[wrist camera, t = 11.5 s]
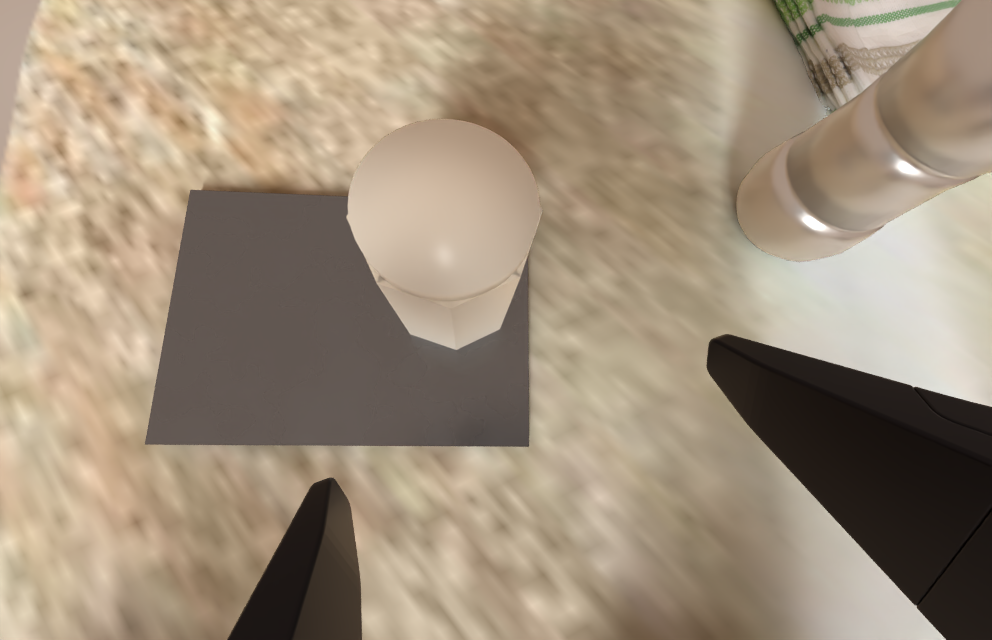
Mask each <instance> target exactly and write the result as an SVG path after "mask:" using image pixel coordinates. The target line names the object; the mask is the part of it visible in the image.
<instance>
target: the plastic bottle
mask: <svg viewBox="0 0 992 640" xmlns="http://www.w3.org/2000/svg"><path fill="white" fill-rule="evenodd" d="M990 172H992V0H961V1H960V2H959V3H958V4H957V5H956V6H955V7H954V8H953V9H952V10H951V11H950V12H949V13H948V14H947V15H946V16H945V17H944V18H943V19H942V20H941V21H940V22H939V23H938V24H937V25H936V26H935V27H934V28H933V29H932V31H931V32H930V33H929V34H928V35H927V36H925V37H924V38H923V39H922V40H921V41H920V42H919V43H917V44H916V45H915V46H914V47H913V48H912V49H911V50H909V51H908V52H907V53H906V54H905V55H904V56H903V57H901V58H900V59H899V60H898V61H897V62H896V63H895V64H893V65H892V66H891V67H890V68H889V69H888V71H887V72H885V73H884V74H882V75H881V76H880V77H879V78H877V79H876V80H875V81H874V82H873V83H872V84H871V85H870V86H868V87H867V88H866V89H865V90H864V91H863V92H861V93H860V94H858V95H857V96H856V97H854V98H853V99H851V100H850V101H848V102H847V103H845V104H844V105H843V106H841V107H840V108H838V109H837V110H835V111H834V112H833V113H831V114H830V115H828V116H827V117H825V118H824V119H822V120H821V121H820V122H818V123H817V124H815V125H814V126H812V127H811V128H809V129H808V130H807V131H805V132H802V133H800V134H798V135H796V136H794V137H793V138H791V139H789V140H787V141H785V142H783V143H782V144H780V145H779V146H777V147H776V148H774V149H772V150H771V151H769V152H768V153H766V154H765V155H764V156H763V157H761V158H760V159H759V160H758V161H757V163H756V164H755V165H754V166H753V168H752V169H751V170H750V171H749V173H748V174H747V175H746V177H745V178H744V179H743V181H742V182H741V184H740V187H739V189H738V194H737V206H736V207H737V217H738V221H739V224H740V226H741V228H742V230H743V232H744V233H745V235H746V236H747V237H748V239H749V240H750V241H751V242H752V243H753V244H754V245H755V246H757V247H758V248H759V249H761V250H762V251H764V252H766V253H768V254H770V255H772V256H776V257H779V258H782V259H785V260H789V261H796V262H805V261H812V260H817V259H821V258H825V257H830V256H833V255H837V254H841V253H843V252H844V251H846V250H848V249H850V248H851V247H853V246H855V245H856V244H858V243H860V242H861V241H863V240H865V239H866V238H868V237H870V236H871V235H873V234H874V233H875V232H877V231H878V230H879V229H881V228H882V227H883V226H884V225H885V224H886V223H888V222H890V221H892V220H893V219H895V218H897V217H899V216H901V215H903V214H904V213H906V212H908V211H910V210H912V209H914V208H915V207H917V206H919V205H921V204H923V203H924V202H926V201H928V200H930V199H932V198H934V197H935V196H937V195H939V194H941V193H943V192H945V191H946V190H949V189H951V188H954V187H956V186H958V185H961V184H963V183H966V182H968V181H971V180H973V179H975V178H977V177H979V176H980V175H982V174H986V173H990Z"/></svg>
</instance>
